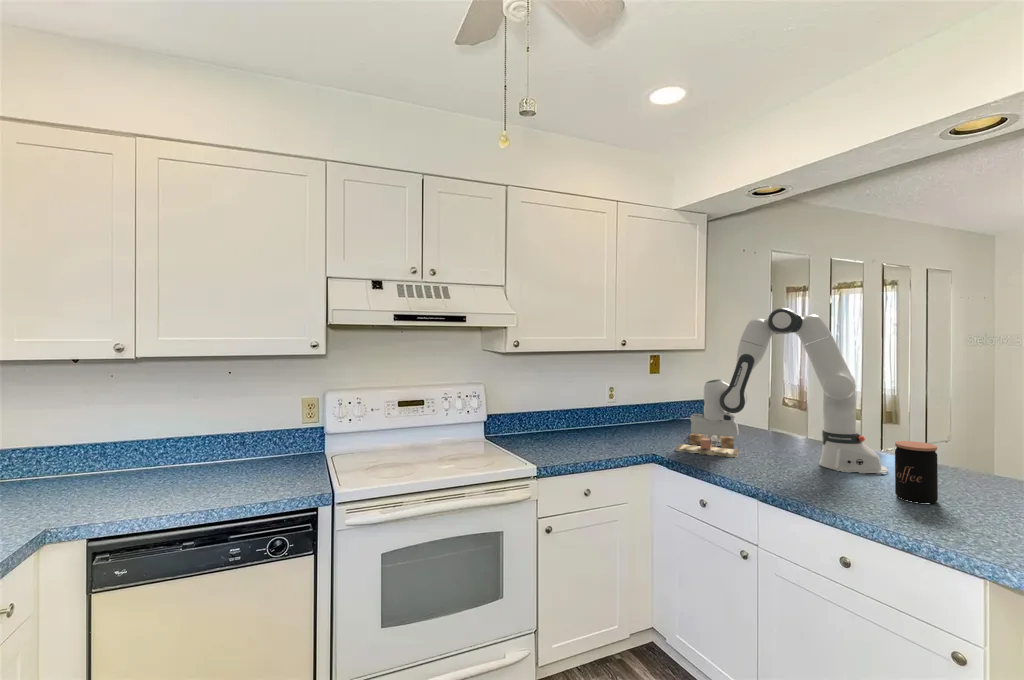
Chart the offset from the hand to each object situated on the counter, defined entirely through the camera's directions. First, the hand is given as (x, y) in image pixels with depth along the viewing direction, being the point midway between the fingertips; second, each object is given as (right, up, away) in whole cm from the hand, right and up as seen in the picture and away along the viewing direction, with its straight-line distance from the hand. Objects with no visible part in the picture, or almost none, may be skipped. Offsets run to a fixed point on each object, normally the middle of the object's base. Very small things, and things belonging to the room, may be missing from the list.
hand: (714, 444), depth 222 cm
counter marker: (-4, -2, +1) cm, 4 cm away
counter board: (-3, -4, +2) cm, 5 cm away
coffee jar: (+38, -4, -65) cm, 76 cm away
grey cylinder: (+5, -4, +15) cm, 17 cm away
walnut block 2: (+11, -4, +11) cm, 16 cm away
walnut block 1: (-1, -4, +18) cm, 19 cm away
